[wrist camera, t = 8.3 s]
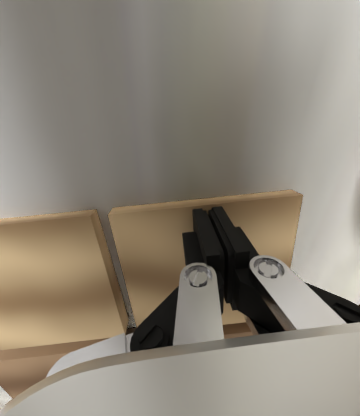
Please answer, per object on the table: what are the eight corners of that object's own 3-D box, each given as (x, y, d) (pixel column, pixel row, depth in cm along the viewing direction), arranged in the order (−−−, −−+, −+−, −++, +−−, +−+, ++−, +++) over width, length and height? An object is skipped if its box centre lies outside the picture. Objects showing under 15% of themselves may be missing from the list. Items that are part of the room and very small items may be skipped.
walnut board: (-6, 343, 16) (-21, 363, 14) (275, 311, 16) (285, 327, 15) (36, 395, 19) (27, 414, 18) (265, 367, 20) (271, 384, 18)
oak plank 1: (-84, 225, 11) (-114, 236, 10) (98, 207, 12) (90, 215, 10) (-8, 335, 15) (-23, 353, 14) (128, 320, 15) (125, 335, 14)
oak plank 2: (113, 206, 11) (107, 214, 10) (289, 188, 12) (302, 195, 10) (140, 318, 15) (138, 334, 14) (272, 303, 16) (281, 318, 14)
